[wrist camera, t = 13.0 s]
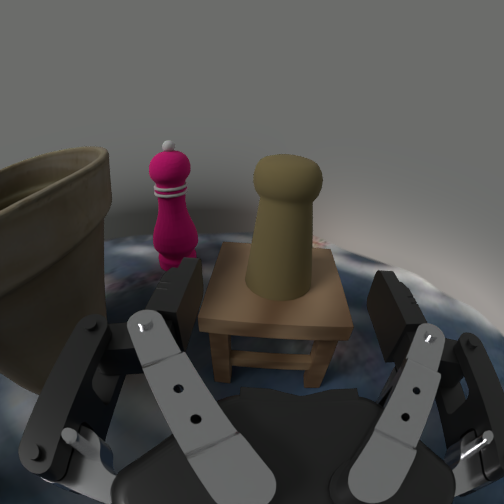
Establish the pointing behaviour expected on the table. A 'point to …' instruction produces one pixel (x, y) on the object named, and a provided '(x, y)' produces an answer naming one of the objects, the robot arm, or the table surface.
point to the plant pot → (50, 256)
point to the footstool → (273, 317)
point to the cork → (283, 227)
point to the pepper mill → (172, 207)
